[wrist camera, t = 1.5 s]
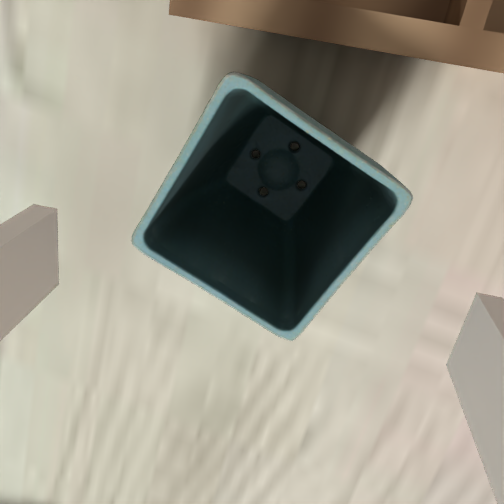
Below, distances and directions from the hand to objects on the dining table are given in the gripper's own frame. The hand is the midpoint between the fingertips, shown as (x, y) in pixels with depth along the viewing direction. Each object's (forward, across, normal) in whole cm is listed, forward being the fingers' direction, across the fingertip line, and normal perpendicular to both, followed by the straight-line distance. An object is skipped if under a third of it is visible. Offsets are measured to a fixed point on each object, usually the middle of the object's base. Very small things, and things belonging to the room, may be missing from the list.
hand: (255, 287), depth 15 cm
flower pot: (+14, 0, 0) cm, 15 cm away
